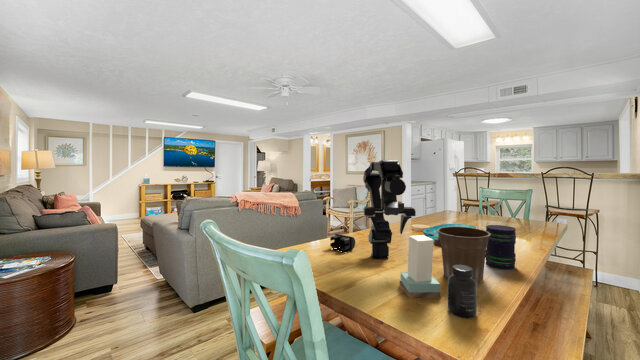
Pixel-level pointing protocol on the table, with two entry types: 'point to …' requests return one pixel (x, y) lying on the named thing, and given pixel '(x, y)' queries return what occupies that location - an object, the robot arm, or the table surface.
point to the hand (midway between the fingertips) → (388, 233)
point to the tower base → (420, 293)
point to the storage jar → (501, 247)
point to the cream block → (420, 258)
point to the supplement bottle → (462, 292)
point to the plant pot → (464, 249)
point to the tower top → (419, 284)
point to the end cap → (342, 242)
